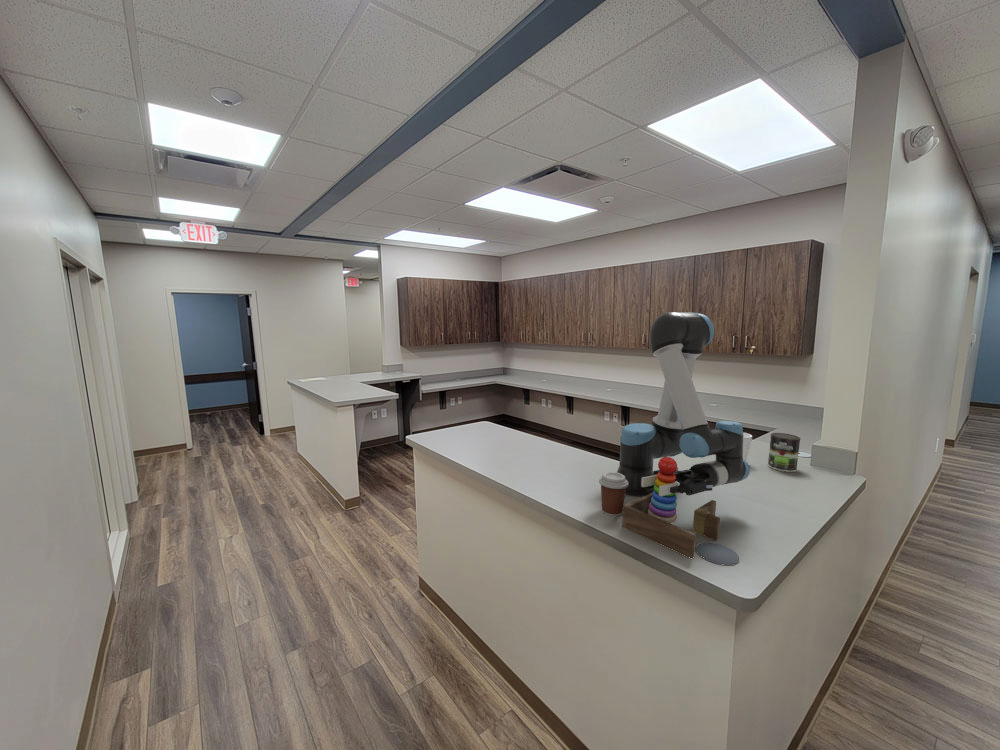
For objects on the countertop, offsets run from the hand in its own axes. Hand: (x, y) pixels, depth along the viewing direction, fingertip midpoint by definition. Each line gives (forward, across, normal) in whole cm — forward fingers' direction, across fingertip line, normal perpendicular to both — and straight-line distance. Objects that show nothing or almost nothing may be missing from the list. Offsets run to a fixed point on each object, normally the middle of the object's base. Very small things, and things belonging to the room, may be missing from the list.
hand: (651, 486), depth 113 cm
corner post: (-15, -6, -14) cm, 21 cm away
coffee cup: (+1, +15, -14) cm, 20 cm away
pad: (-9, -15, -14) cm, 23 cm away
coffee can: (-94, +18, -14) cm, 97 cm away
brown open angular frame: (-10, -1, -14) cm, 17 cm away
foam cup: (-82, +30, -14) cm, 88 cm away
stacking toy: (-6, +1, -11) cm, 12 cm away
